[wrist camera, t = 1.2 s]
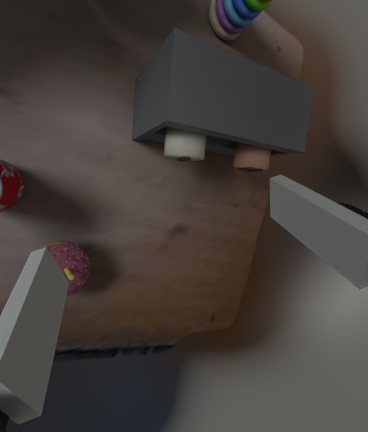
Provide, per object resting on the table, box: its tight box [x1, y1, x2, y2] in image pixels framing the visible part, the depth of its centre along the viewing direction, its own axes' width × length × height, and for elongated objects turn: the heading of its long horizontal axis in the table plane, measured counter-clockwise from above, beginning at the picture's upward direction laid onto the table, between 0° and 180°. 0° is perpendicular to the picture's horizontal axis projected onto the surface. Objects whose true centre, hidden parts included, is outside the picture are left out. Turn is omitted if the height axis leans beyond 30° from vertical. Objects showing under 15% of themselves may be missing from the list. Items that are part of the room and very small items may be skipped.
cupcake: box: [38, 241, 90, 297], centre depth 34 cm, size 9×8×12 cm
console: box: [132, 27, 314, 156], centre depth 40 cm, size 10×24×16 cm, turn 85°
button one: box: [164, 126, 206, 161], centre depth 36 cm, size 4×6×6 cm
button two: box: [233, 142, 271, 172], centre depth 41 cm, size 4×6×6 cm
